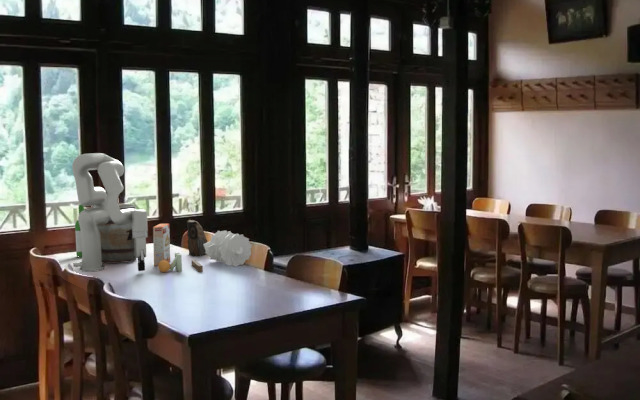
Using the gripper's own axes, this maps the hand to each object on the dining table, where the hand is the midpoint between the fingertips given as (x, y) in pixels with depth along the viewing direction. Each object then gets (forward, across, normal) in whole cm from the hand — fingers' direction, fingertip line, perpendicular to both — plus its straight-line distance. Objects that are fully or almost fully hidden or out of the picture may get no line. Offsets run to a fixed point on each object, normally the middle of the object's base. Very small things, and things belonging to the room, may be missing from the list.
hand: (141, 270), depth 346 cm
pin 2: (+2, +2, +18) cm, 19 cm away
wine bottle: (+2, -62, -24) cm, 67 cm away
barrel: (+1, -39, -9) cm, 40 cm away
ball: (-2, +1, +11) cm, 11 cm away
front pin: (+1, 0, +14) cm, 14 cm away
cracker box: (+2, -22, +14) cm, 26 cm away
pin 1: (+2, -2, +18) cm, 19 cm away
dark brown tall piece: (+2, -40, +38) cm, 55 cm away
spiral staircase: (+2, -5, +46) cm, 46 cm away
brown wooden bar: (+2, 0, +28) cm, 28 cm away
